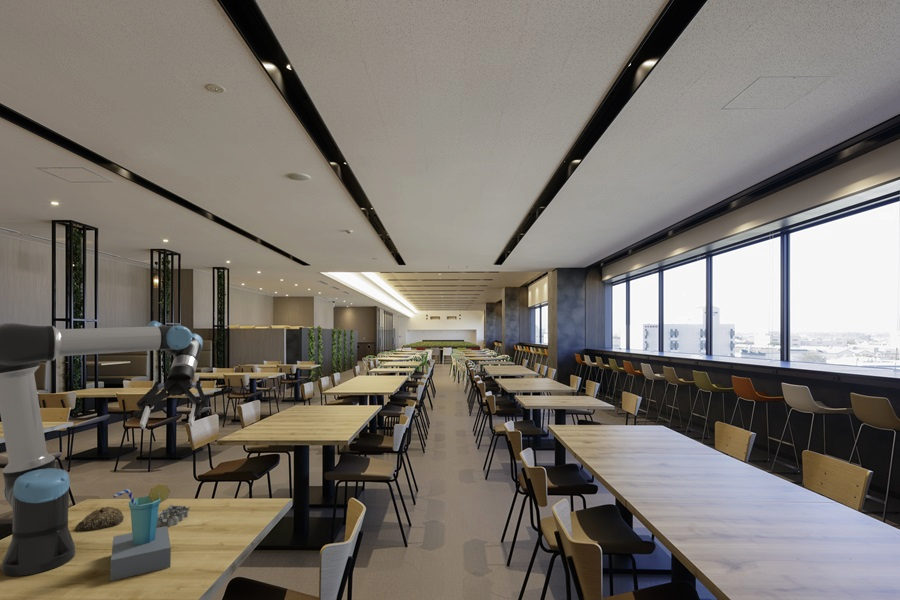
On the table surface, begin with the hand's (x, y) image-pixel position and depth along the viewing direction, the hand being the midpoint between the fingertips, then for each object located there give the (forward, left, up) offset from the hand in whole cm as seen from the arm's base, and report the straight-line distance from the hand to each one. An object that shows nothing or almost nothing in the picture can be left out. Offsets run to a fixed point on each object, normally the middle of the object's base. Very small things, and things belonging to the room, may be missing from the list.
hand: (166, 425), depth 154 cm
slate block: (-6, -17, -33) cm, 37 cm away
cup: (-6, -17, -28) cm, 33 cm away
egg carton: (+3, +11, -33) cm, 35 cm away
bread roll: (-17, +22, -33) cm, 43 cm away
